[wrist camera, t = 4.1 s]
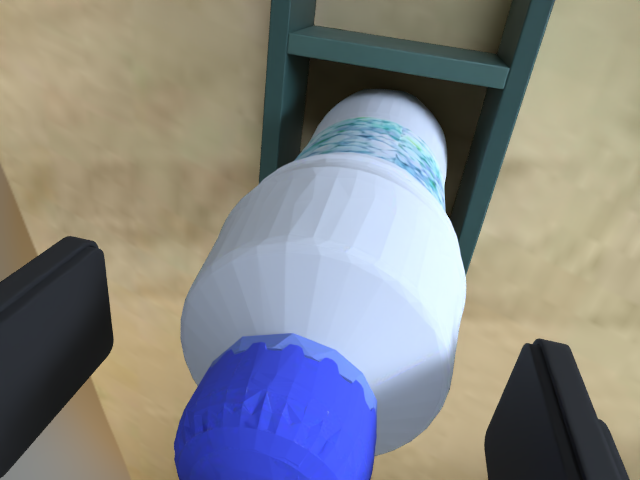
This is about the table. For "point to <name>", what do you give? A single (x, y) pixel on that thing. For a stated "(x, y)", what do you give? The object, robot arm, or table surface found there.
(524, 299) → the table surface
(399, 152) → the bottle
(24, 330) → the robot arm
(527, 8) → the tray
